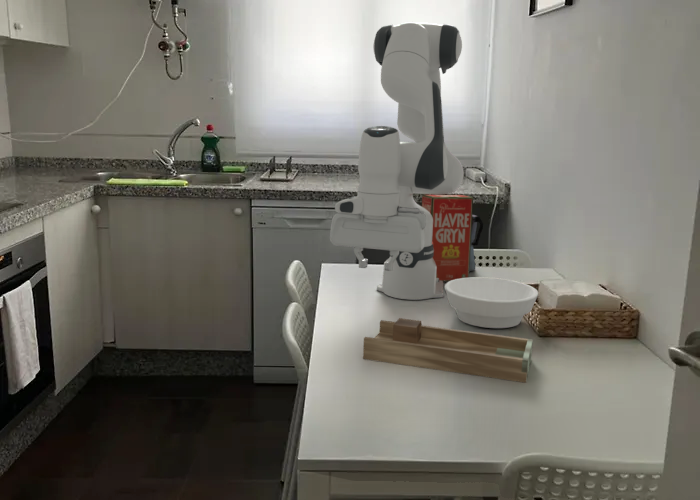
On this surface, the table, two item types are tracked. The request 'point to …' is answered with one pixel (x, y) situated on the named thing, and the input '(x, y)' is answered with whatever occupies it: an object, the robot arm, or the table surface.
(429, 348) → the trap lane
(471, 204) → the food packaging
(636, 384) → the table surface
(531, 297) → the bowl
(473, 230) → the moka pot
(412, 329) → the walnut block
